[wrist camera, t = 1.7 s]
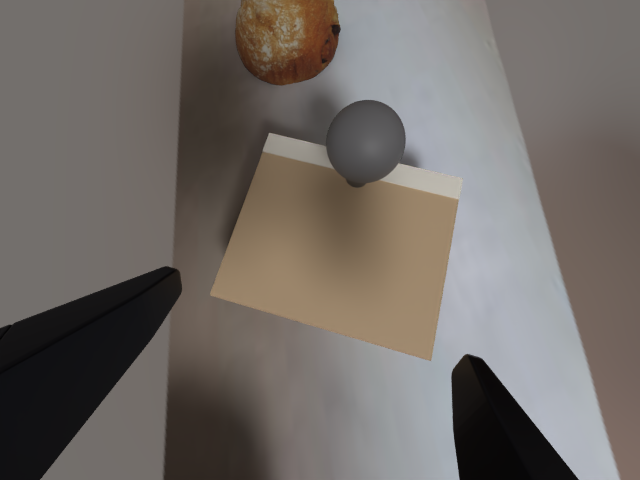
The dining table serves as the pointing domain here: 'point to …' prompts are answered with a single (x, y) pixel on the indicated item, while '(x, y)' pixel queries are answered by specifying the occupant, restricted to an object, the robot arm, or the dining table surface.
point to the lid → (345, 234)
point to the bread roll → (286, 38)
